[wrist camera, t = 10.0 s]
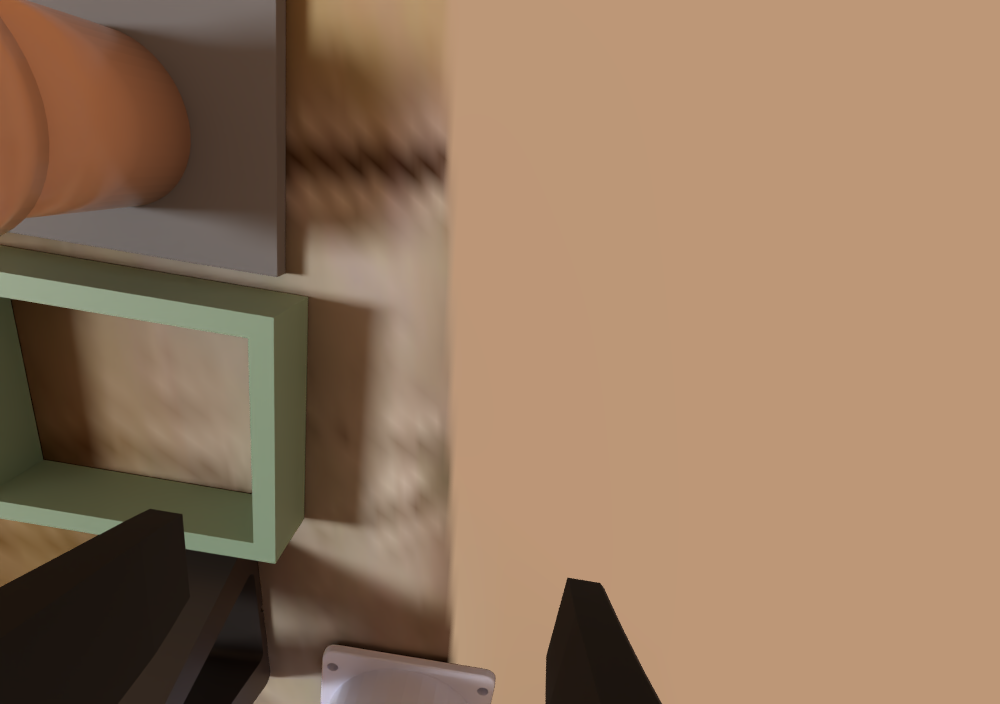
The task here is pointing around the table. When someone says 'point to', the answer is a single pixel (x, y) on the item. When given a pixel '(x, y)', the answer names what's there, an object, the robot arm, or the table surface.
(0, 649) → the robot arm
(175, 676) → the phone stand
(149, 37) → the slate mat
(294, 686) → the table surface
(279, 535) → the frame
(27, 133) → the terracotta pot
